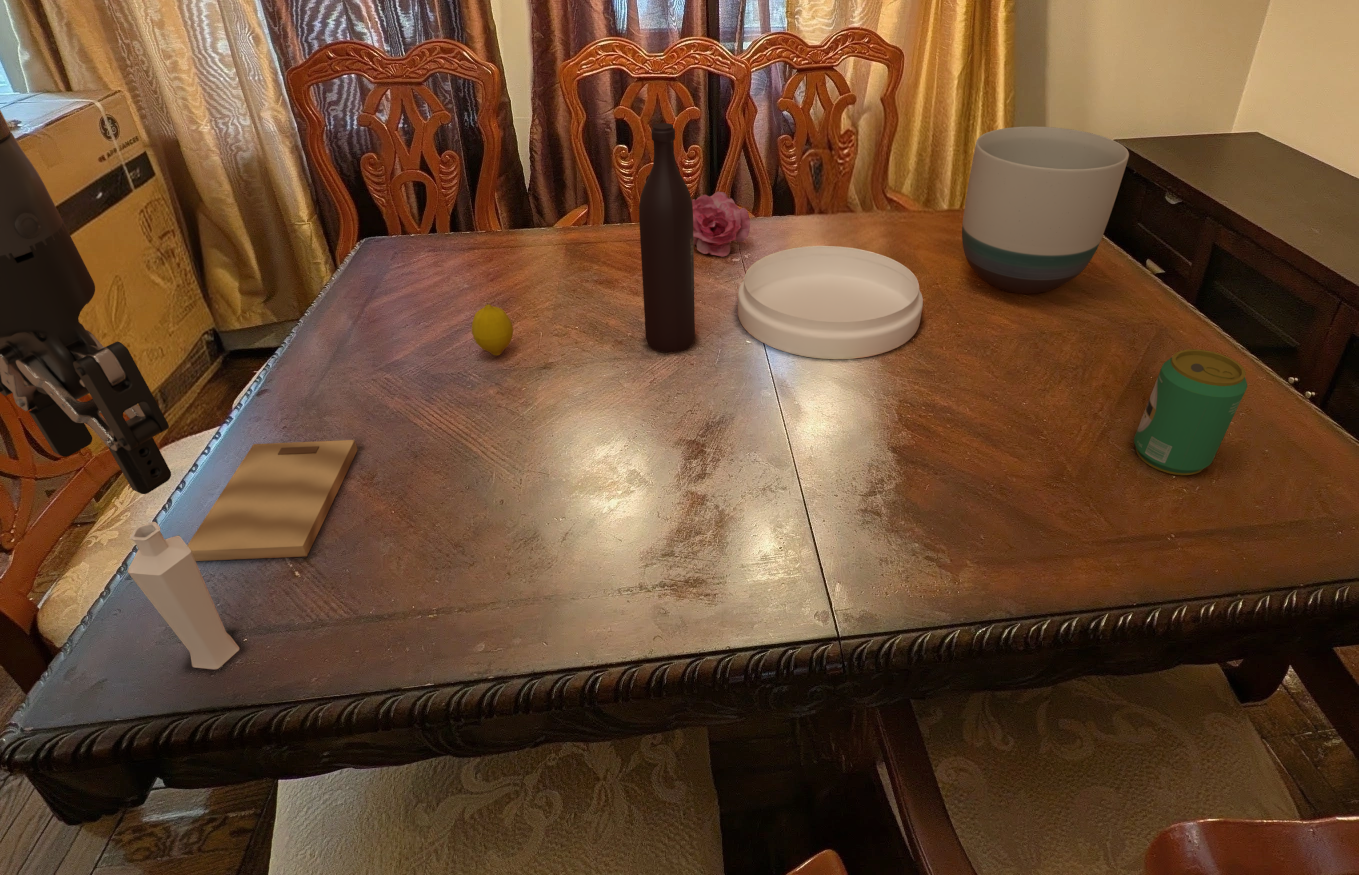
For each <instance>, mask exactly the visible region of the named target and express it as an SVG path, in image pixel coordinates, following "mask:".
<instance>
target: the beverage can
mask: <svg viewBox="0 0 1359 875" xmlns="http://www.w3.org/2000/svg"><path fill="white" fill-rule="evenodd" d="M1246 375H1247V372H1246V369H1245V368H1244V366H1243V365H1242V364H1241V363H1240V362H1238V361H1237V360H1235V359H1234V358H1232V357H1229V356H1227V355H1225V354H1222V353H1219V352H1215V351H1211V350H1207V349H1197V348H1187V349H1183V350H1179V351H1177V352H1175V353H1174V354H1173V355H1172V356H1171V357H1170V358H1169V359H1168V360H1166V361H1164V363H1163V364H1162V366H1161V367H1160V370H1159V373H1158V376H1157V378H1156V381H1155V383H1154V386H1153V388H1152V391H1151V393H1150V396H1149V399H1148V401H1147V404H1146V406H1145V409H1144V411H1143V414H1142V416H1141V419H1140V422H1139V424H1138V427H1137V429H1136V432H1135V434H1134V437H1133V444H1134V446H1135V452H1136V455H1137V456H1138V458H1139V459H1140V460H1141V461H1143V463H1145V464H1146V465H1148V466H1149V467H1151V468H1153V469H1155V470H1158V471H1161V472H1163V473H1167V474H1170V475H1177V476H1191V475H1197V474H1199V473H1201V472H1202V471H1203V470H1204V469H1206V468H1207V467H1209V466H1210V465H1211V464H1212V463H1213V461H1214V459H1215V457H1216V454H1217V452H1218V450H1219V449H1220V446H1221V444H1222V442H1223V441H1224V438H1225V435H1226V433H1227V431H1228V429H1229V427H1230V425H1231V423H1232V421H1233V419H1234V416H1235V415H1236V413H1237V409H1238V408H1239V405H1240V404H1241V402H1242V400H1243V397H1244V395H1245V393H1246V391H1247V389H1248V382H1247V379H1246Z"/></svg>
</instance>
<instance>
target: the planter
mask: <svg viewBox="0 0 1359 875" xmlns="http://www.w3.org/2000/svg"><path fill="white" fill-rule="evenodd" d="M972 156H973V157H972V162H971V167H970V171H969V176H968V183H967V189H966V190H967V191H966V196H965V203H964V210H963V216H962V217H963V218H962V224H961V225H962V226H961V242H962V250H963V253H964V257H965V259H966V262H967V263H968V264H969V266H970V268H971V269H972V270H973V271H974V273H975V274H976V275H977V276H979V278H980V279H982V280H983V281H984V282H985V283H987V284H988V285H990V286H992V287H994V288H997V289H999V290H1001V291H1005V292H1009V293H1013V294H1014V293H1015V294H1024V295H1027V294H1028V295H1029V294H1030V295H1033V294H1040V293H1046V292H1048V291H1052V290H1055V289H1057V288H1059V287H1062V286H1064V285H1065V284H1068V283H1069V282H1071V281H1073V279H1075V278H1077V277H1078V276H1079V275H1080V274H1081V273H1082V272H1083V271H1084V270H1085V269H1086V267H1087V266H1089V264H1090V262H1091V260H1092V259H1093V258H1094V255H1095V254H1096V252H1097V250H1098V249H1099V246H1100V244H1101V241H1102V239H1103V236H1104V235H1105V234H1104V233H1105V231H1106V228H1107V225H1108V222H1109V219H1110V217H1111V214H1112V211H1113V208H1114V206H1115V202H1116V199H1117V196H1118V192H1119V190H1120V187H1121V183H1122V180H1123V177H1124V174H1125V171H1126V167H1127V164H1128V161H1129V158H1130V152H1129V151H1128V148H1126V147H1125V146H1124V145H1123V144H1121V143H1120V142H1118V141H1116V140H1114V139H1111V138H1108V137H1106V136H1103V135H1100V134H1097V133H1092V132H1087V131H1083V130H1077V129H1070V128H1065V127H1064V128H1063V127H1055V126H1054V127H1053V126H1051V127H1050V126H1014V127H1012V126H1011V127H1004V128H998V129H993V130H991V131H987V132H985V133H983V134H981V135H980V136H979V137H978V138H977V139H976V141H975V146H974V150H973V155H972Z"/></svg>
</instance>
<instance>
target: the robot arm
mask: <svg viewBox="0 0 1359 875" xmlns="http://www.w3.org/2000/svg"><path fill="white" fill-rule="evenodd" d="M95 292H96V284H95V282H94V280H93V277H92V276H91V274H90V272H89V270H88V268H87V266H86V263H85V262H84V260H83V258H82V256H81V254H80V252H79V250H78V248H77V246H76V244H75V242H74V239H73V238H72V236H71V234H70V232H69V230H68V229H67V226H66V224H65V223H64V220H63V219H62V216H61V214H60V213H59V211H58V209H57V206H56V204H55V202H54V201H53V198H52V196H51V195H50V192H49V191H48V189H47V186H46V185H45V182H44V181H43V179H42V178H41V175H40V174H39V172H38V170H37V169H36V168H35V166H34V164H33V163H32V162H31V160H30V158H28V156H27V154H26V153H25V151H23V149H22V147H21V145H20V144H19V143H18V141H17V139H16V137H15V135H14V134H13V132H11V128H10V126H9V124H8V122H7V120H6V118H5V116H4V114H3V112H2V110H1V109H0V394H1V395H3V396H5V397H7V396H9V395H11V394H12V398H13V399H14V402H15V404H16V406H17V407H18V408H21V409H22V410H23V411H24V412H28V414H29V415H30V416H31V418H32V419H33V421H34V423H35V425H36V426H37V427H38V430H39V431H40V432H41V434H42V436H43V437H44V439H45V440H46V442H47V443H48V445H49V447H50V448H51V450H52V451H53V453H55V454H56V455H59V456H60V457H63V458H64V457H65V458H66V457H67V458H68V457H70V456H72V455H74V454H75V453H78V452H79V451H81V450H83V449H85V448H87V447H88V446H90V445H92V442H93V435H92V434H91V432H90V431H89V429H88V427H87V426H86V425H88V426H89V427H90V428H91V429H92V430H93V432H95V433H96V434H97V436H98V437H99V438H100V439H101V440H102V441H103V443H104V444H105V446H106V447H107V448H108V450H109V451H110V454H111V456H112V457H113V458H114V460H115V463H116V464H117V465H118V467H119V469H120V470H121V473H122V474H123V476H124V478H125V479H126V481H127V483H128V485H129V487H130V488H131V489H132V491H134V492H136V493H138V494H140V495H148V494H149V493H151V492H153V491H154V490H156V489H157V488H159V487H161V486H162V485H163V484H165V483H166V482H168V481H170V479H171V477H172V471H171V469H170V467H169V465H168V463H167V462H166V459H165V458H164V456H163V454H162V452H161V450H160V448H159V446H158V444H157V443H156V441H155V439H154V438H155V437H156V436H157V435H159V434H161V433H163V432H165V431H167V430H168V429H170V425H169V423H168V421H167V419H166V417H165V416H164V413H163V411H162V409H161V407H160V406H159V404H158V401H157V400H156V398H155V397H154V395H153V392H152V391H151V389H150V387H149V386H148V383H147V382H146V380H145V378H144V376H143V374H142V372H141V371H140V369H139V367H138V365H137V363H136V362H135V360H134V358H133V356H132V355H131V352H130V350H129V349H128V347H126V345H125V344H124V343H122V342H120V341H118V340H117V341H114V342H113V343H111V344H109V345H106V346H104V345H102V343H101V342H100V341H99V339H97V337H96V336H95V335H94V334H93V333H92V332H91V331H89V329H86V328H85V326H84V325H83V324H82V322H81V323H80V319H79V317H80V314H81V313H82V311H83V309H84V308H85V307H86V306H87V305H88V304H89V303H90V302H91V301H92V300H93V298H94V295H95ZM87 395H90V396H91V398H90V399H89V400H87V401H79V399H81V398H83V397H85V396H87ZM124 414H125V415H126V417H128V418H129V419H128V420H126V419H125V418H124Z"/></svg>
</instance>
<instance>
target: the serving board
mask: <svg viewBox="0 0 1359 875" xmlns="http://www.w3.org/2000/svg"><path fill="white" fill-rule="evenodd" d="M357 452H358V445H357V443H356V440H355V439H344V440H321V441H320V440H319V441H318V440H317V441H316V440H315V441H295V442H291V441H290V442H269V443H267V442H266V443H253V444H252V445H251V447H250V448H249V450H248V451H247V453H246V455H245V456H244V458H243V459H242V461H241V463H240V464H239V465H238V467H237V468H236V470H235V472H234V473H233V475H232V476H231V477H230V479H229V481H228V482H227V484H226V485H225V486H224V488H223V490H222V491H221V492H220V495H219V496H218V497H217V499H216V500H215V502H214V503H213V505H212V507H211V508H210V510H209V511H208V513H207V514H206V516H205V517H204V519H203V521H202V522H201V524H200V525H199V527H198V528H197V530H196V532H195V533H194V534H193V535H192V537H191V539H189V540H190V541H189V542H188V543H187V544H186V545H187V546H188V547H189V549H190V550H191V552H192V554H193V556H194V559H195V561H196V562H208V561H233V560H253V559H277V558H278V559H279V558H299V557H300V558H301V557H308V555H309V553H310V551H311V549H312V547H313V544H314V543H315V540H316V538H317V537H318V534H319V532H320V530H321V528H322V526H323V524H324V522H325V519H326V517H327V515H328V514H329V511H330V509H331V507H332V504H333V503H334V501H335V498H336V497H337V494H338V492H339V490H340V488H341V486H342V484H343V482H344V480H345V477H346V475H347V473H348V471H349V469H350V467H351V465H352V463H353V461H354V459H355V456H356V454H357Z"/></svg>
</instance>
